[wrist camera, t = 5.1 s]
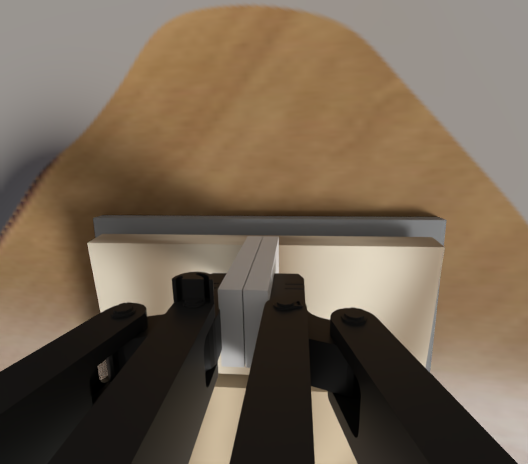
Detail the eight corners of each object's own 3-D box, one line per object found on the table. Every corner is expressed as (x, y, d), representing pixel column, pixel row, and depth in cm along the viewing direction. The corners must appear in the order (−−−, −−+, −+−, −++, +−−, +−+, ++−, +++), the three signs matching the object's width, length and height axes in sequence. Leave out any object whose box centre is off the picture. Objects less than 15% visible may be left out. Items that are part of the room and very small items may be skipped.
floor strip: (135, 465, 23) (125, 486, 22) (125, 367, 22) (113, 381, 20) (402, 483, 22) (409, 506, 20) (411, 379, 20) (421, 396, 19)
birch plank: (123, 352, 22) (111, 368, 20) (102, 233, 19) (87, 242, 18) (413, 363, 20) (422, 382, 19) (432, 236, 18) (444, 247, 16)
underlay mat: (130, 464, 25) (123, 476, 24) (102, 215, 21) (93, 218, 20) (411, 482, 23) (416, 497, 22) (438, 216, 19) (446, 220, 18)
